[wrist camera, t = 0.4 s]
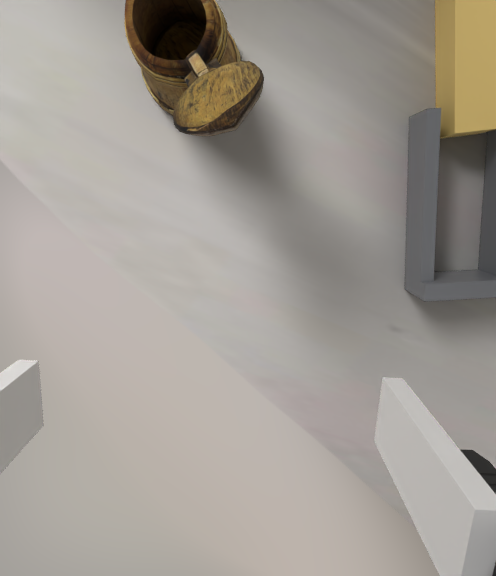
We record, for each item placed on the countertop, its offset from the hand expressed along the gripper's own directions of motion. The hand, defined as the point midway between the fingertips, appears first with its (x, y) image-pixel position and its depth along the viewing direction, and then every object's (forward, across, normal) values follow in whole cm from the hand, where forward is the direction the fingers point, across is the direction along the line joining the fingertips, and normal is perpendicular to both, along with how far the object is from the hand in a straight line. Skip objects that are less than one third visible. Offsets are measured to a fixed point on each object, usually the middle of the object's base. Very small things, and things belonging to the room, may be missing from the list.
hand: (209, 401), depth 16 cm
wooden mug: (+27, -4, +17) cm, 32 cm away
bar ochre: (+27, +20, +20) cm, 39 cm away
